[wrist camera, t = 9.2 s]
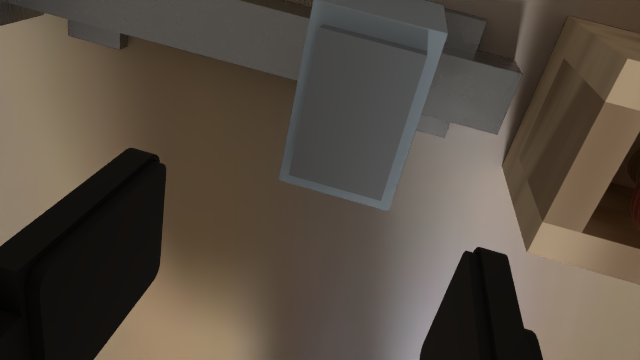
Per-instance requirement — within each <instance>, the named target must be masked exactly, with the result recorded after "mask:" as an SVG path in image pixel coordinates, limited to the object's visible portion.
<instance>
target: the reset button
mask: <svg viewBox="0 0 640 360" xmlns="http://www.w3.org/2000/svg"><path fill="white" fill-rule="evenodd" d="M627 170H628V174H629V176H630V178H631V179H632V181H633V182H634V183H635V185H636V188H635V190H634V191H633V194H632V197H631V201H630V212H631V216H632V219H633V221H634V223H635V225H636V226H637V228H638V229H639V231H640V149H638V150H637V151H636V152H635V153H634V154H633V155H632V157H631V158H630V160H629V163H628V168H627Z"/></svg>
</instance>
